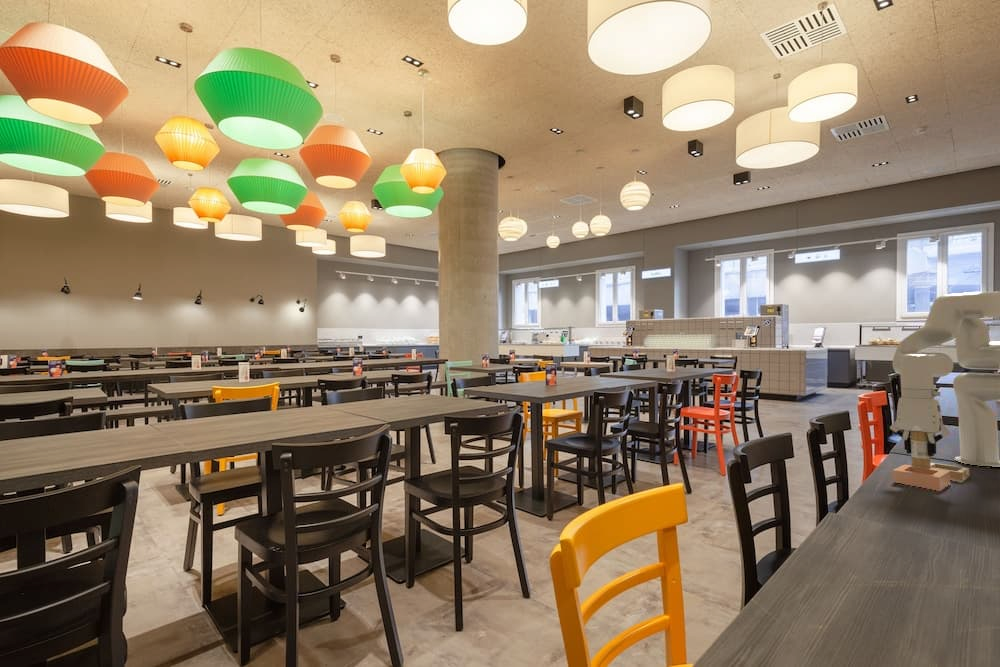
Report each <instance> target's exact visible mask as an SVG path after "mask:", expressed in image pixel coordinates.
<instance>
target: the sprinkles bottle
mask: <svg viewBox="0 0 1000 667" xmlns="http://www.w3.org/2000/svg"><path fill="white" fill-rule="evenodd" d="M912 430H914V431H910V438H911V439H910V443H911V453H910V456H911V464H910V465H911V466H912V467H914V468H917V469H931V466H930V463H931V457H930V456H928V443H929V438H928V435H927V433H924V432H921V431H922V430H921V429H920V427H919V426H916V425H915V426H914V427H913V429H912Z"/></svg>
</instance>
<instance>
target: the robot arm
mask: <svg viewBox="0 0 1000 667" xmlns="http://www.w3.org/2000/svg"><path fill="white" fill-rule="evenodd" d="M984 318H985V319H989V318H990V319H991V318H1000V290H998V291H995V290H994V291H972V292H963V293H962V292H961V293H960V292H959V293H949V294H944V295H940V296H938V297H937V298H935V300H934V301H933V303H932V304H931V308H930V310H929V313H928V314H927V318H926V321H925V322H924V326H923V327H921V328H920V329H917V330H915V331H913V332H912V333H910V334H909V335H908V336H906V337H904V338H903V339H902V340H901V341H900V342H899V344H898V346H897V347H896V350H895V353H894V355H893V359H892V369H893V371H894V372H895V373H896V374H898V375H900V392H901V397H899V398H898V402H897V410H896V420H895V421H893V423H892V424H891V425H890V426H889V429H890V430H891V431H893V432H894V433H896V434H897V435H898V436H900V438H901V439H902V440H903V441H904V444H903V445H904V450H905V451H906V454H907V455H908V454H910V455H911V443H910V439H911V438H910V437H911V436H910V431H914V430H912V429H913V427H914V426H915V425H916V426H919V427H920V429H921V430H922V431H921V432H924V433H927V435H928V438H929V443H928V456H930V458H932V457H934V456H935V455H936V454H937V442H939V441H940V440H942V439H943V438H946V437H948V436H950V435H952V432H951V431H950V430H949V428H948V427H946V426H945V425H944V423H943V416H942V411H941V410H942V409H941V405H940V402H939V399H937V398H936V397H940V396H941V391H936V390H935V388H934V378H941V377H946V376H948V375H950V374H951V373H952V371H953V369H954V361H953V359H952V358H951V357H950V355H949V354H945V353H942V352H920V351H921V350H925V349H926V348H931V347H935V346H939V345H941V344H945V343H948V342H950V341H953V340H954V339H955V348H956V350H955V351H956V359H957V363H958V365H959V366H960V367H961V368H964V369H968V370H969V369H970V370H993V371H994V370H997V371H1000V341H991V338H990V329H989V326H988V325H987V323H986V322H985V321H983V319H984ZM952 381H953V382H952V386H953V390H954V393H955V394H954V395H955V397H956V402H957V412H958V414H957V415H958V434H959V435H958V436H959V453H960V454H959V456H955V457H954V461H955V460H956V461H958V462H961V463H960V464H962V463H964V464H963V465H966V464H970V465H969V466H971V465H978V466H977V467H979V466H992V467H1000V456H999V455H1000V454H999V453H1000V450H999V433H998V431H999V429H998V416H997V415H998V414H997V413H996V410H995V409H994V408H993V407H992V406H991V405H990V404H989V403H988V402H1000V373H993V372H992V373H989V372H963V373H960V374H958V375H956V376H955V377H954V379H953V380H952ZM939 432H941V433H939ZM937 433H939V434H937ZM936 434H937V435H936ZM956 461H955V462H956ZM958 462H957V463H958Z"/></svg>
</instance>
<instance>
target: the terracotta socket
mask: <svg viewBox="0 0 1000 667" xmlns="http://www.w3.org/2000/svg"><path fill="white" fill-rule="evenodd" d="M911 465H912V464H910V465H909V464H905V463H904V464H903V465H900V466H898V467H897V468H893V469H892V483H893V482H897V483H902V484H907V485H912V486H917V487H916V488H918V487H922V488H921V489H923V488H927V489H926V490H929V489H932V490H931V491H934V490H936V492H942V491H943V490H944V489H946V488H947V487H949V486H950V485H951V481H950V471H945V470H938V469H932V468H931V469H917V468H914V467H912V466H911ZM948 485H949V486H948ZM912 486H911V487H912ZM945 487H946V488H945Z"/></svg>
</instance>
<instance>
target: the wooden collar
mask: <svg viewBox="0 0 1000 667" xmlns="http://www.w3.org/2000/svg"><path fill="white" fill-rule="evenodd" d="M930 466H931V468H932V469H938V470H945V471H950V480H954V481H953V482H955V481H960V482H959V483H961V482H962V483H964V482H965V481H966V480H965V479H966V478H968V477H969V476H970V477H971V475H970V468H969V467H966V466H960V465H959V466H958V465H951V464H945V463H938V462H930ZM968 479H969V478H968ZM964 480H965V481H964ZM963 481H964V482H963Z"/></svg>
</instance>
